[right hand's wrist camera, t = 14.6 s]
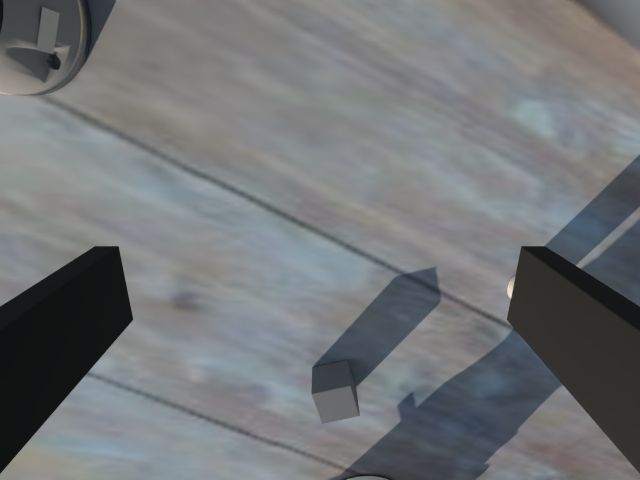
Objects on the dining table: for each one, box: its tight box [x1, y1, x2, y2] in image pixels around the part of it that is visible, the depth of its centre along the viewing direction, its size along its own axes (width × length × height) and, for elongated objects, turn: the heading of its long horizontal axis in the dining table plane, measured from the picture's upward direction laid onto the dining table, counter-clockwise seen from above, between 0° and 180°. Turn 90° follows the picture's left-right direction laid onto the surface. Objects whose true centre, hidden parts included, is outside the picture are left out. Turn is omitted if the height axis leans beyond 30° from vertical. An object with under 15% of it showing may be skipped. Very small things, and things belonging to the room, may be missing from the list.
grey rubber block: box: [312, 360, 360, 424], centre depth 49 cm, size 5×5×5 cm
